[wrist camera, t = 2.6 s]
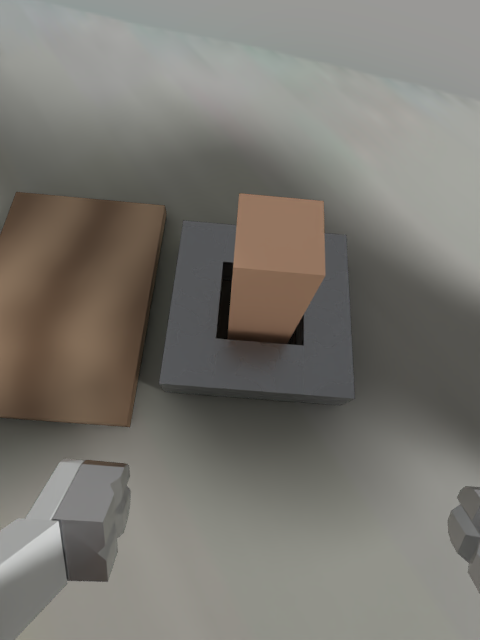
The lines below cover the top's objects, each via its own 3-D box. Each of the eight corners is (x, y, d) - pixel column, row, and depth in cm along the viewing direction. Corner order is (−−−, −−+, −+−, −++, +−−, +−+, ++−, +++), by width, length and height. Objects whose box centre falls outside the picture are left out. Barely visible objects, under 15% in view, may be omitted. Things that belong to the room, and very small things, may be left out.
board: (166, 214, 29) (164, 205, 28) (129, 427, 23) (126, 425, 22) (22, 201, 28) (16, 191, 27) (-54, 413, 22) (-65, 411, 21)
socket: (335, 254, 28) (346, 235, 26) (341, 405, 24) (354, 398, 22) (186, 241, 28) (183, 220, 26) (164, 391, 24) (158, 383, 21)
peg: (286, 293, 27) (323, 201, 17) (285, 346, 25) (325, 275, 16) (231, 289, 27) (239, 193, 17) (227, 341, 25) (232, 267, 16)
